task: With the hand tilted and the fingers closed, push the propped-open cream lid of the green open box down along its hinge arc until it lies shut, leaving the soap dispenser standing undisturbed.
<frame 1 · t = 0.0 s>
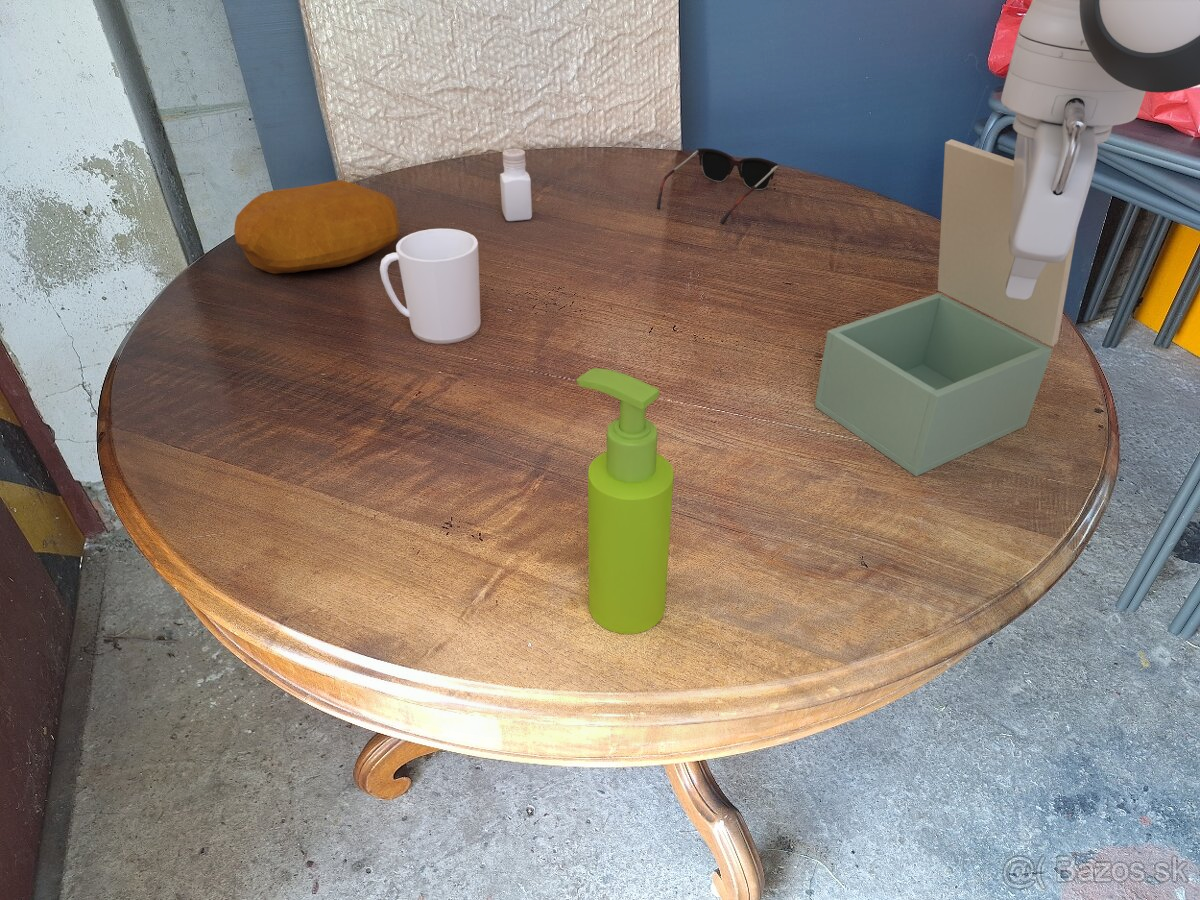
hand: (1017, 269, 70), 21 cm above the table, tool pointing down, fingers open, 8 cm apart
lid: (1002, 243, 82), point 17 cm above the table, hinge at 75.0°
sunglasses: (712, 201, 137), on the table
bread: (327, 261, 119), on the table
mug: (437, 330, 104), on the table
soap dispenser: (621, 604, 69), on the table
green open box: (918, 416, 90), on the table
salt shaker: (517, 218, 131), on the table
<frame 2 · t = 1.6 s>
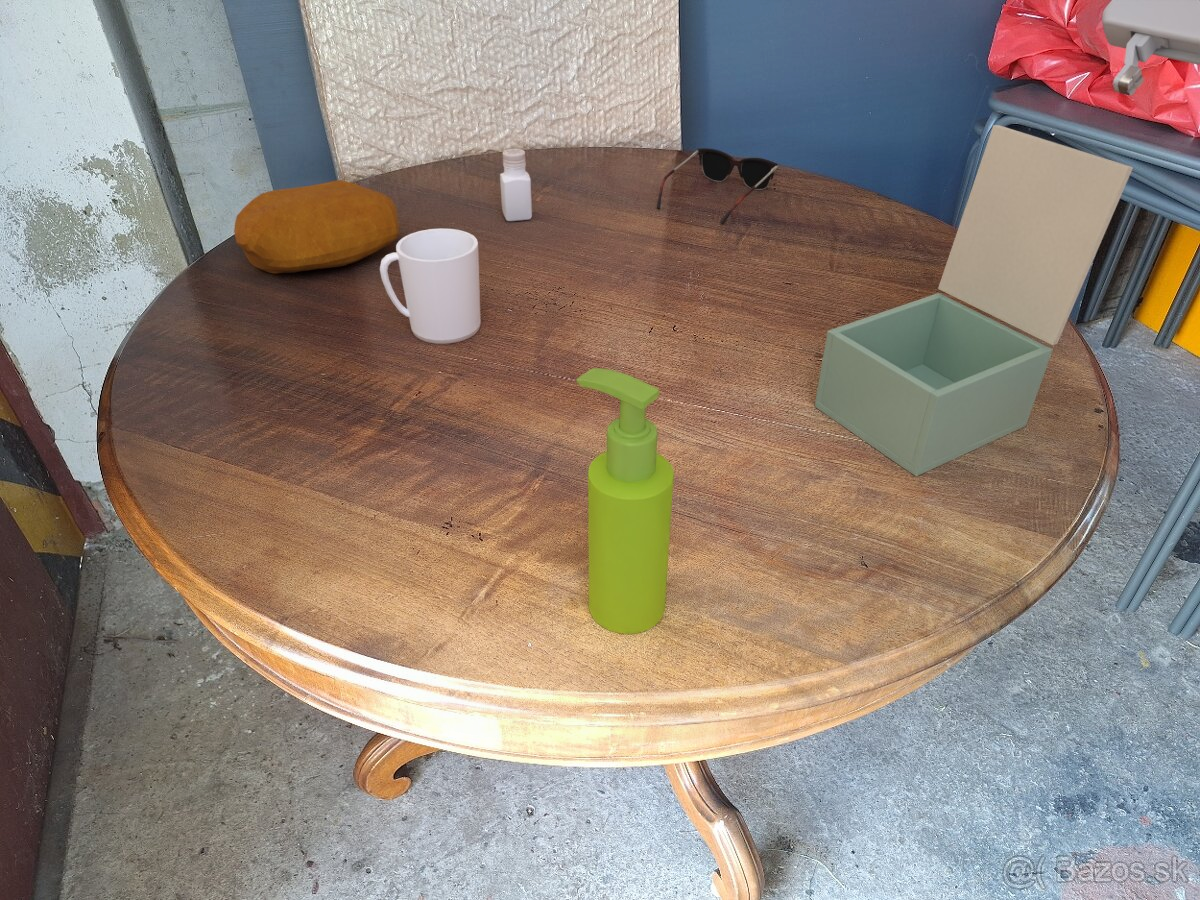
hand: (1168, 102, 75), 30 cm above the table, tool tilted 45°, fingers open, 7 cm apart
lid: (1025, 234, 83), point 17 cm above the table, hinge at 97.5°
everything else where it was.
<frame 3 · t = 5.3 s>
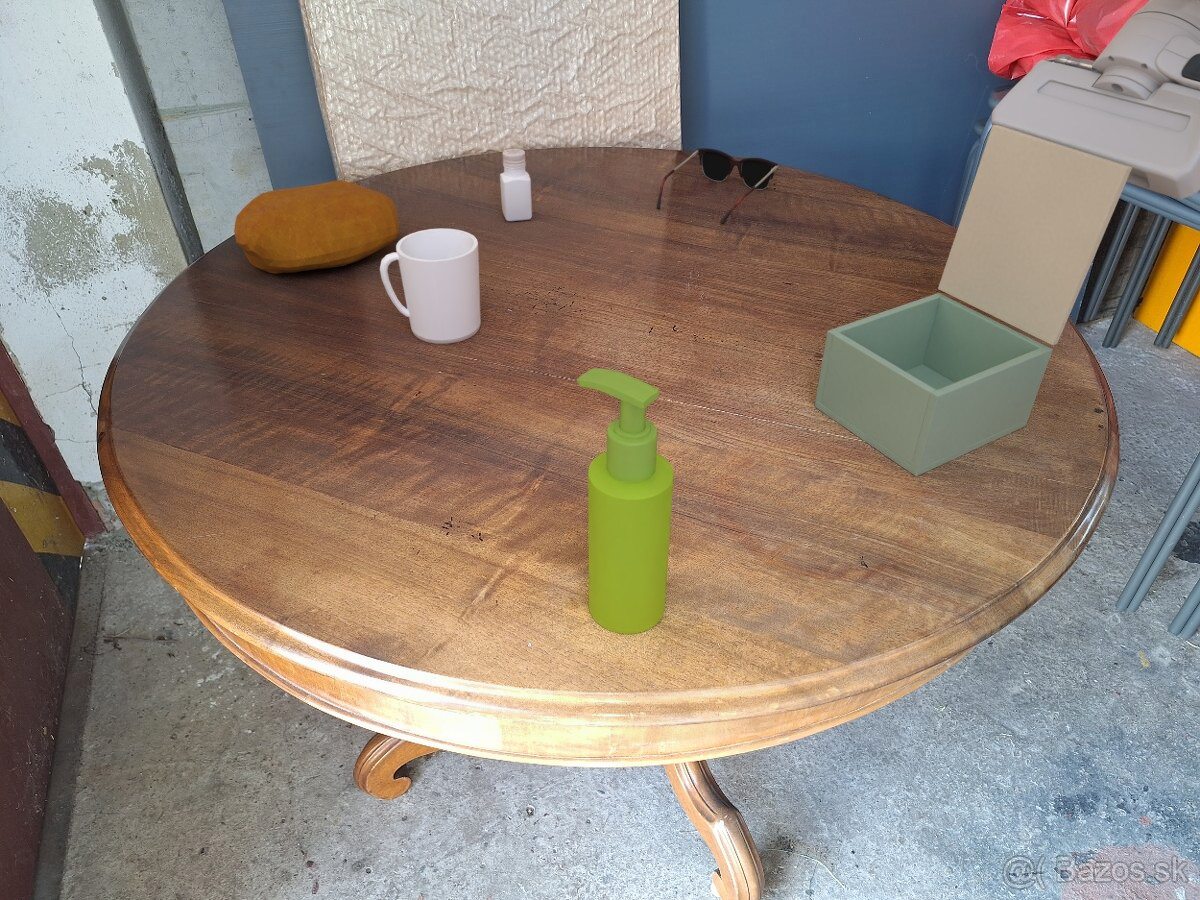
hand: (1045, 200, 82), 20 cm above the table, tool tilted 45°, fingers closed
lid: (1024, 234, 83), point 17 cm above the table, hinge at 97.0°, touching gripper
everything else where it was.
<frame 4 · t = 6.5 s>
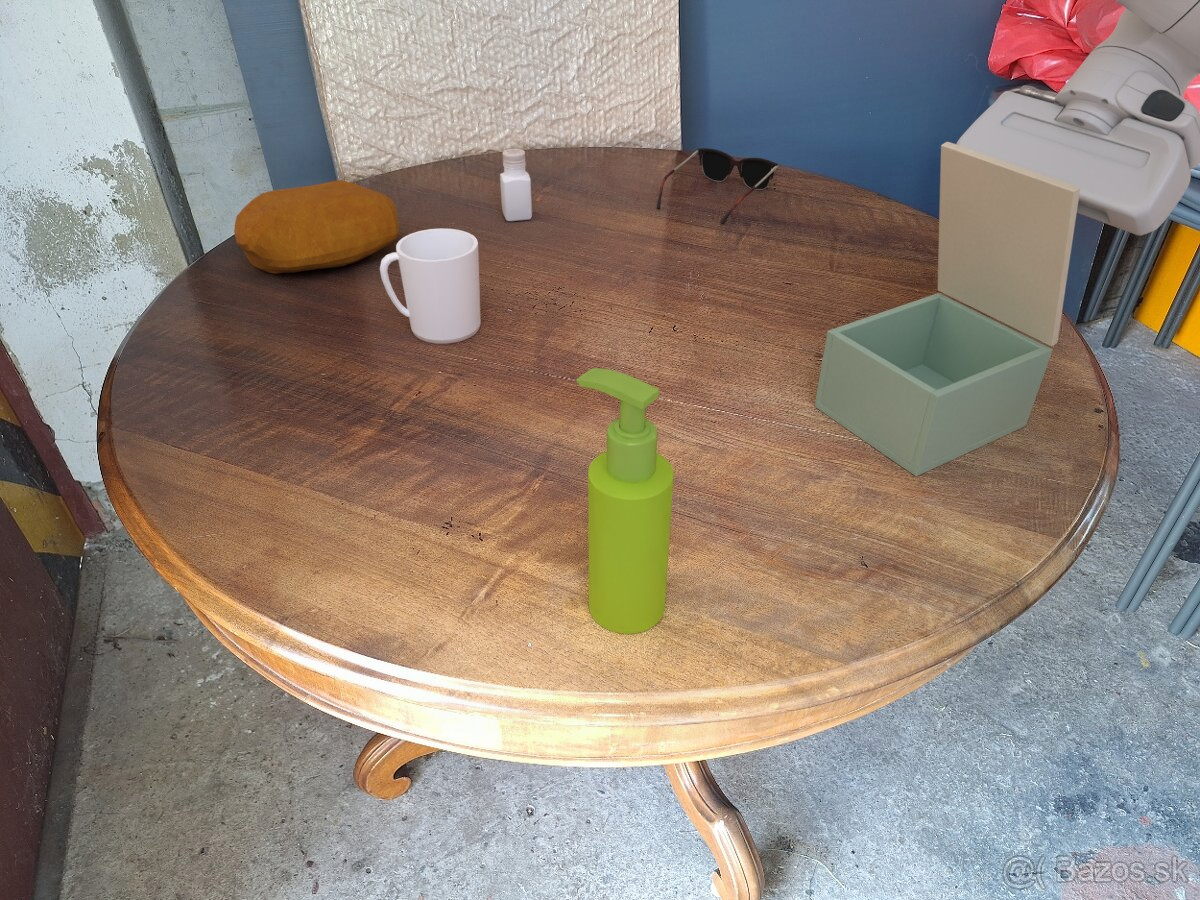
hand: (1007, 234, 82), 18 cm above the table, tool tilted 45°, fingers closed, pressing on lid
lid: (1000, 245, 82), point 17 cm above the table, hinge at 73.2°, touching gripper
everything else where it was.
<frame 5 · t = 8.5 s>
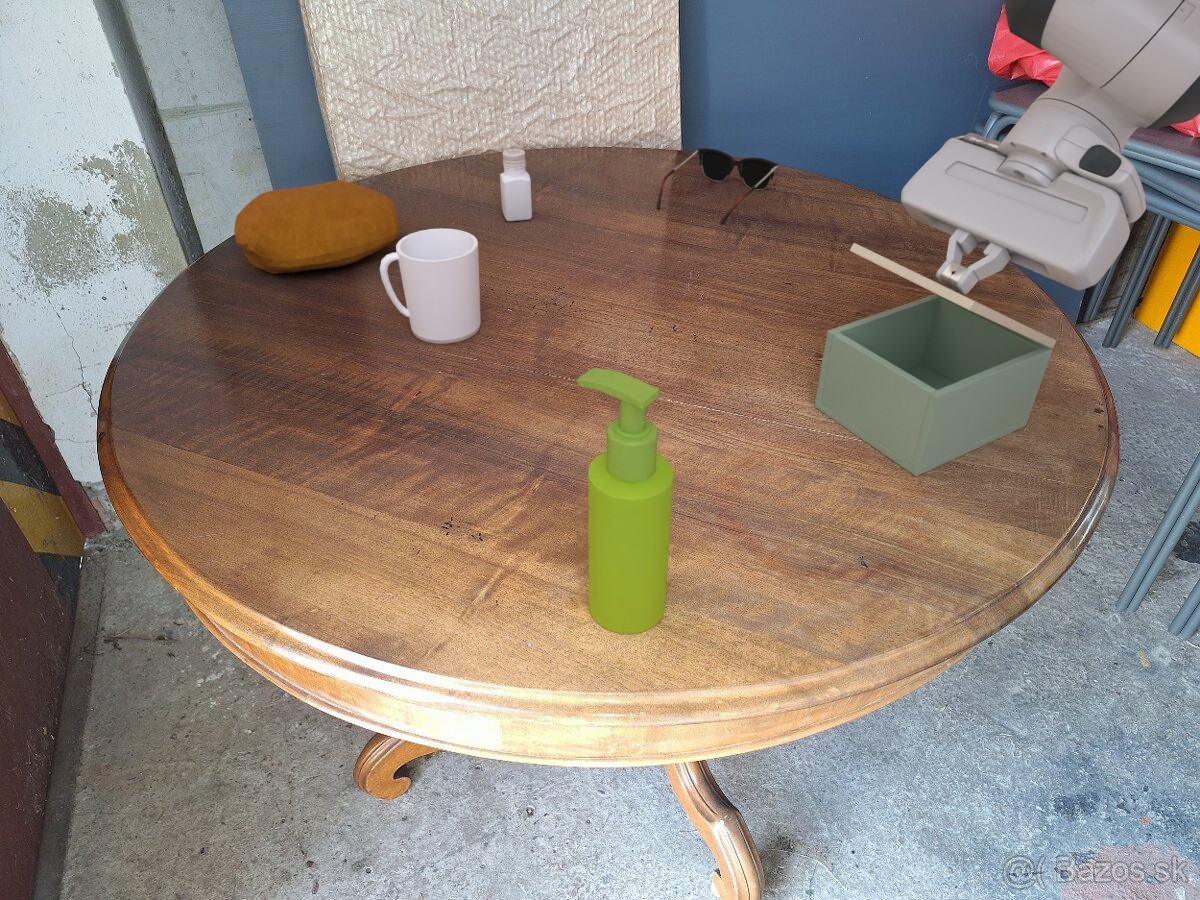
hand: (949, 285, 81), 15 cm above the table, tool tilted 45°, fingers closed
lid: (954, 296, 82), point 13 cm above the table, hinge at 28.8°
everything else where it was.
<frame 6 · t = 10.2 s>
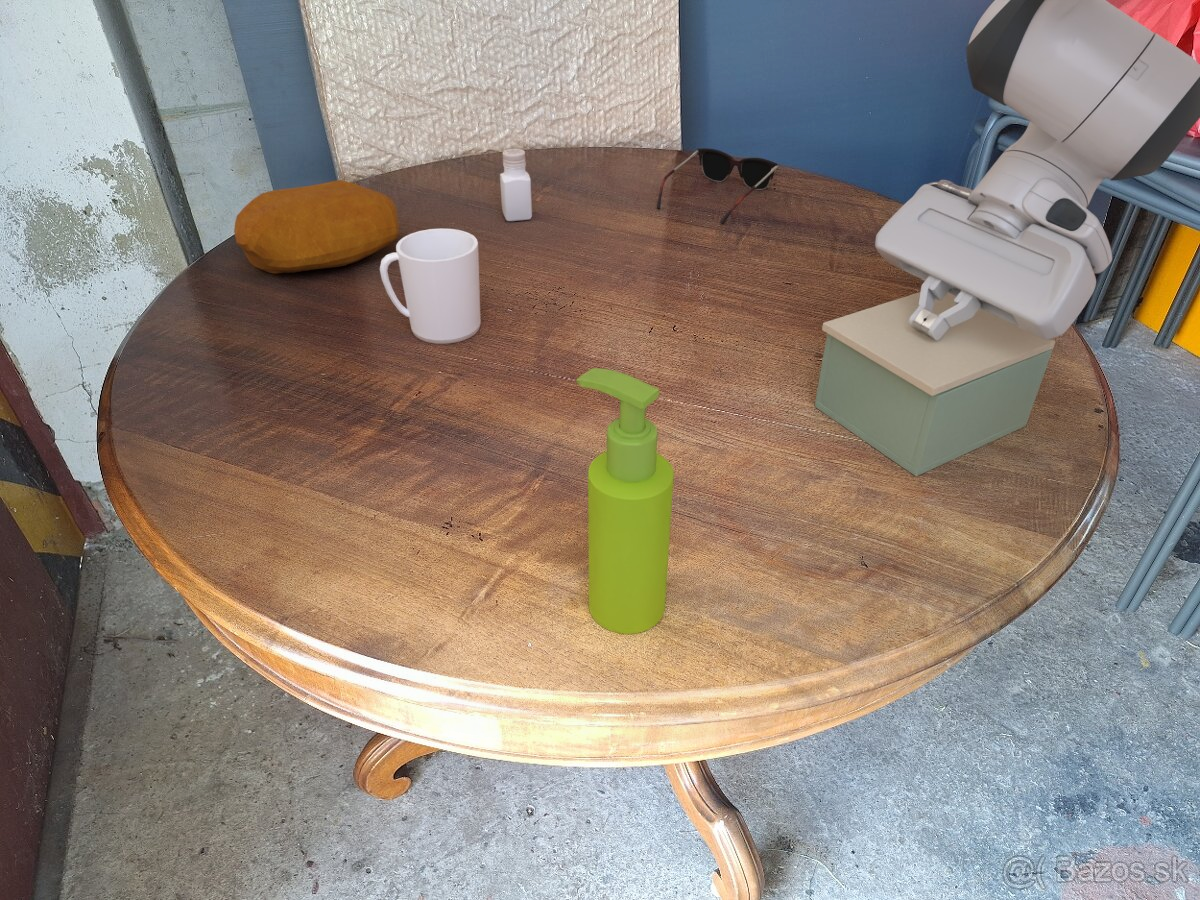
hand: (921, 331, 83), 10 cm above the table, tool tilted 45°, fingers closed, pressing on lid
lid: (937, 335, 84), point 9 cm above the table, hinge at 0.8°, touching gripper
everything else where it was.
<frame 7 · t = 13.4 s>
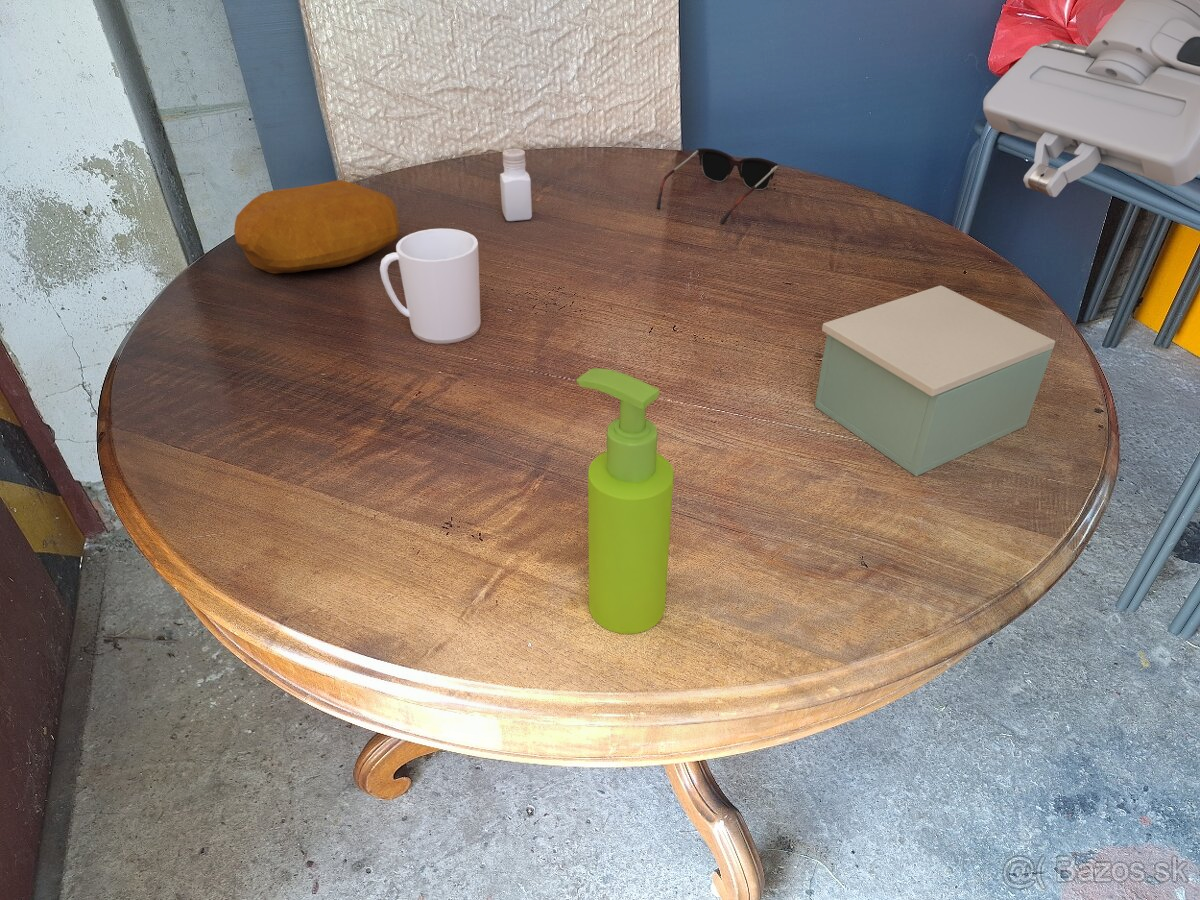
hand: (1038, 188, 80), 22 cm above the table, tool tilted 45°, fingers closed
lid: (936, 335, 84), point 9 cm above the table, hinge at 0.6°
everything else where it was.
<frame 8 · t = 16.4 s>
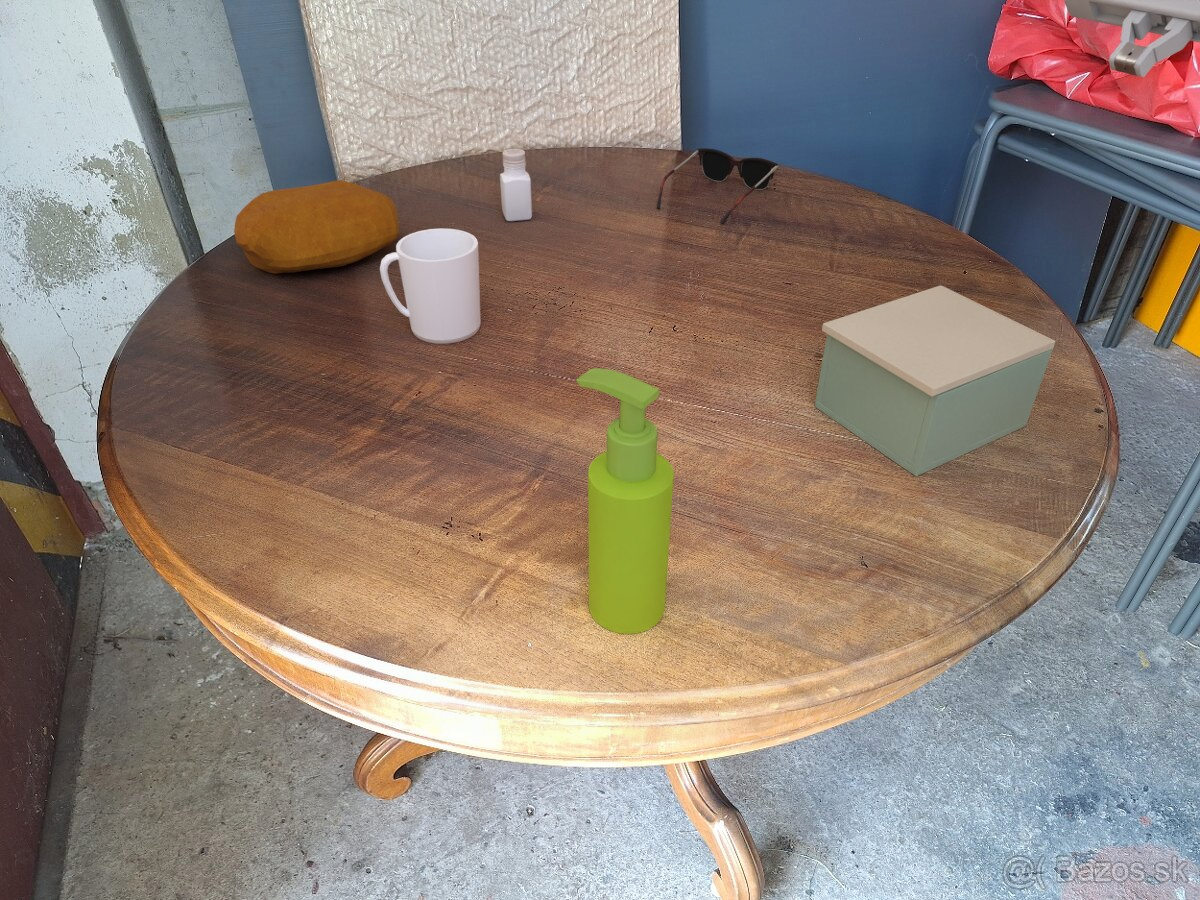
hand: (1124, 69, 77), 31 cm above the table, tool tilted 45°, fingers closed
nothing on the table moved.
at the end: lid at +1° (first picture: +75°); soap dispenser tilted 0°; soap dispenser moved 0.2 cm from its start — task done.
